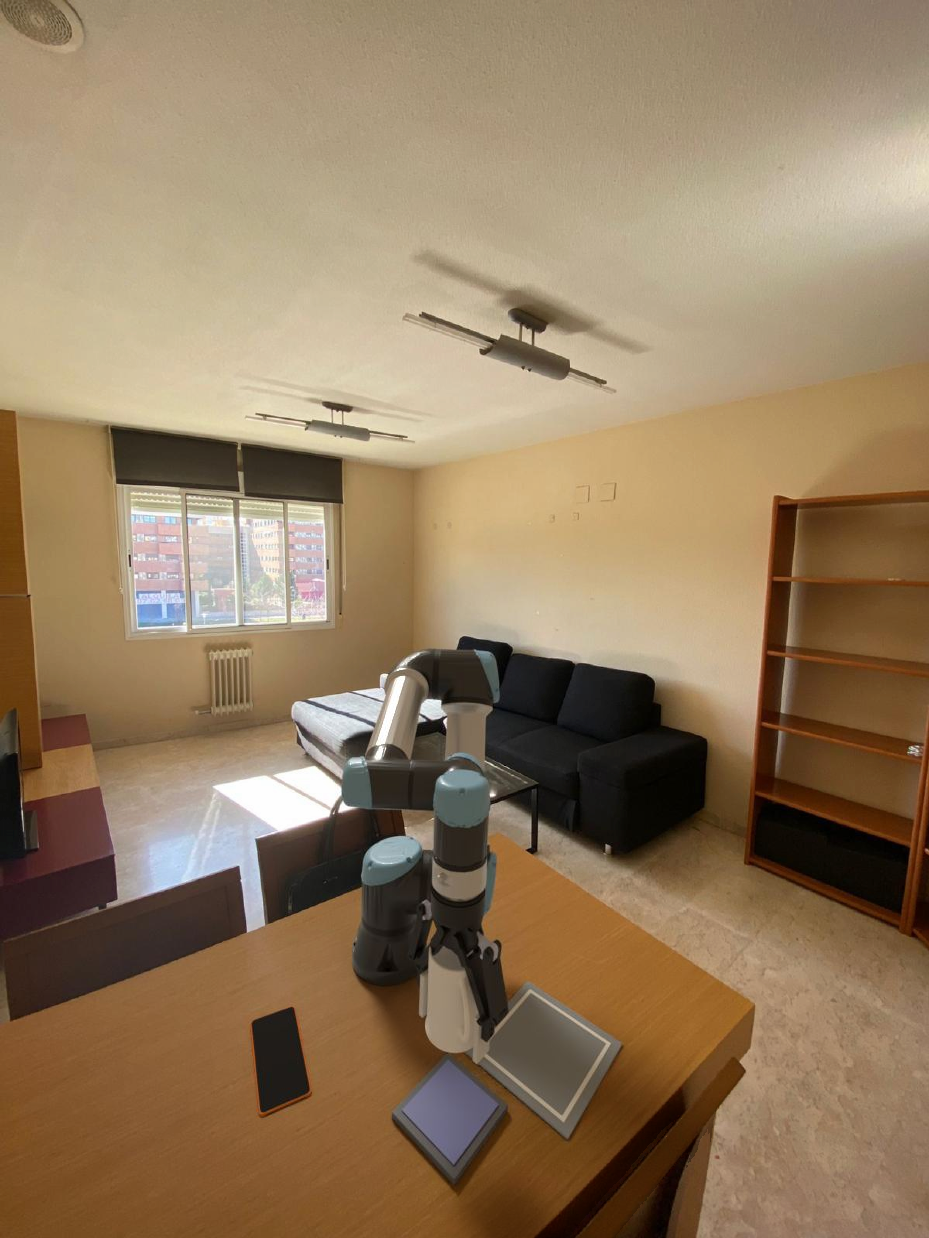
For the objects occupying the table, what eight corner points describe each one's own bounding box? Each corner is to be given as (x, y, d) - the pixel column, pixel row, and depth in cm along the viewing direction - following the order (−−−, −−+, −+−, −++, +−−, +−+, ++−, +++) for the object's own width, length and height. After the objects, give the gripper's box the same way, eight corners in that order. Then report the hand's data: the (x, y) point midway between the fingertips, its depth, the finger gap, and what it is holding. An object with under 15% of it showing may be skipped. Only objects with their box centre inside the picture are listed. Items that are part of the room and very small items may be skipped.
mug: (492, 1074, 66) (496, 990, 65) (427, 1080, 65) (430, 995, 64) (479, 998, 78) (481, 926, 77) (423, 1002, 77) (425, 929, 76)
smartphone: (259, 1120, 72) (258, 1115, 72) (249, 1024, 87) (249, 1020, 87) (313, 1096, 76) (313, 1091, 75) (295, 1007, 90) (295, 1003, 90)
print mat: (464, 1052, 83) (464, 1050, 83) (527, 982, 97) (527, 980, 97) (567, 1140, 71) (567, 1137, 71) (622, 1044, 85) (622, 1042, 85)
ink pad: (391, 1117, 73) (391, 1110, 73) (447, 1057, 82) (447, 1050, 82) (454, 1185, 65) (454, 1177, 65) (507, 1110, 74) (508, 1103, 74)
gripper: (384, 863, 74) (381, 1002, 76) (508, 941, 60) (499, 1108, 62) (421, 843, 79) (417, 973, 82) (542, 909, 65) (533, 1064, 68)
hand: (452, 1031), depth 72 cm, fingers closed on mug, 10 cm apart
